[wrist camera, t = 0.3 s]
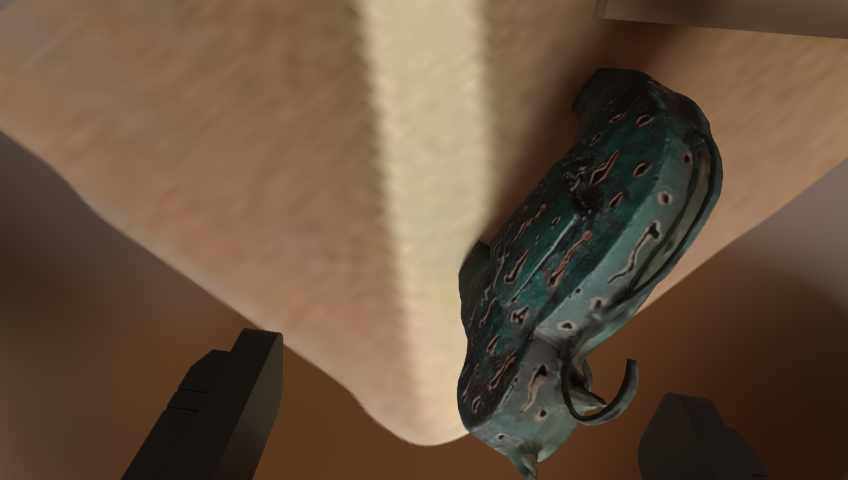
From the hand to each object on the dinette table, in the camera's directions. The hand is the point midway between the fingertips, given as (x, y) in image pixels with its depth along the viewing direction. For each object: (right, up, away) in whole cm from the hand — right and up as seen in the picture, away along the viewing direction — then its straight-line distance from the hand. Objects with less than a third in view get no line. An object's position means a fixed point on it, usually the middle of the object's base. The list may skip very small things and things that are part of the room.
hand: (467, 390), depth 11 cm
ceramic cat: (+7, +7, +27) cm, 29 cm away
